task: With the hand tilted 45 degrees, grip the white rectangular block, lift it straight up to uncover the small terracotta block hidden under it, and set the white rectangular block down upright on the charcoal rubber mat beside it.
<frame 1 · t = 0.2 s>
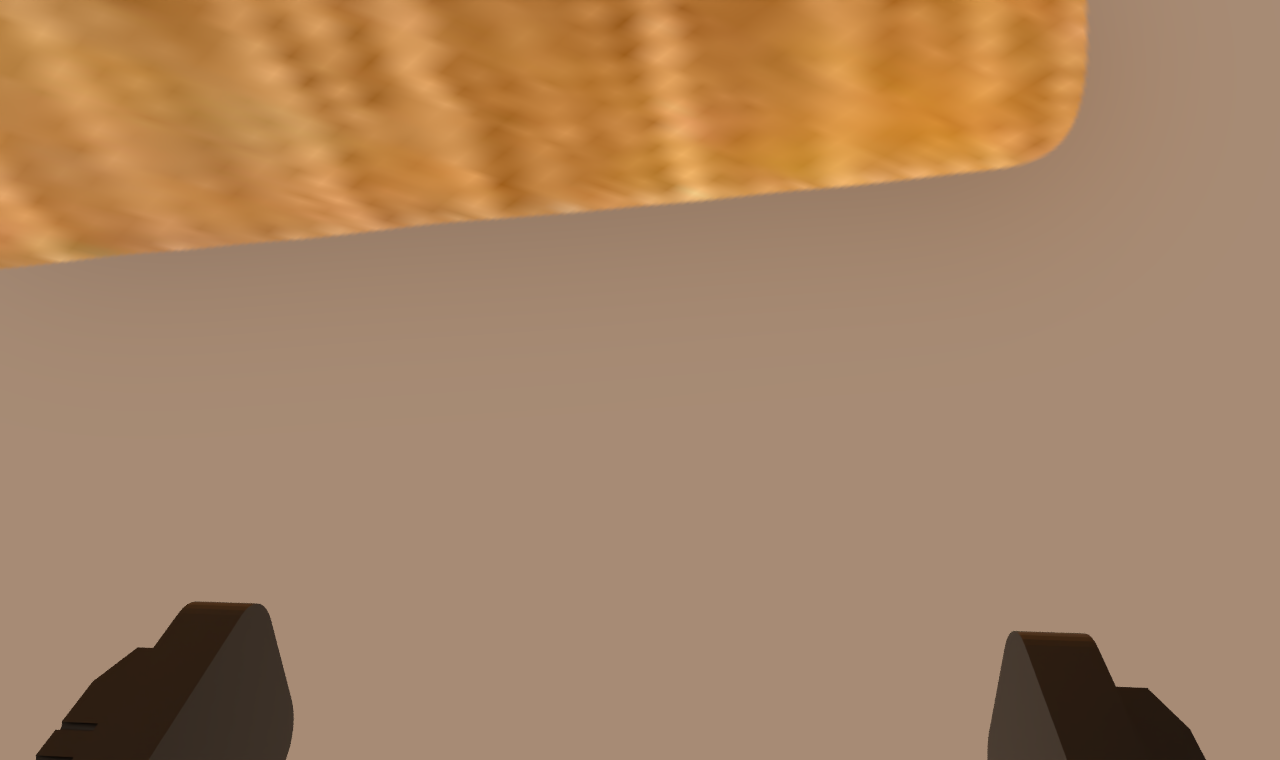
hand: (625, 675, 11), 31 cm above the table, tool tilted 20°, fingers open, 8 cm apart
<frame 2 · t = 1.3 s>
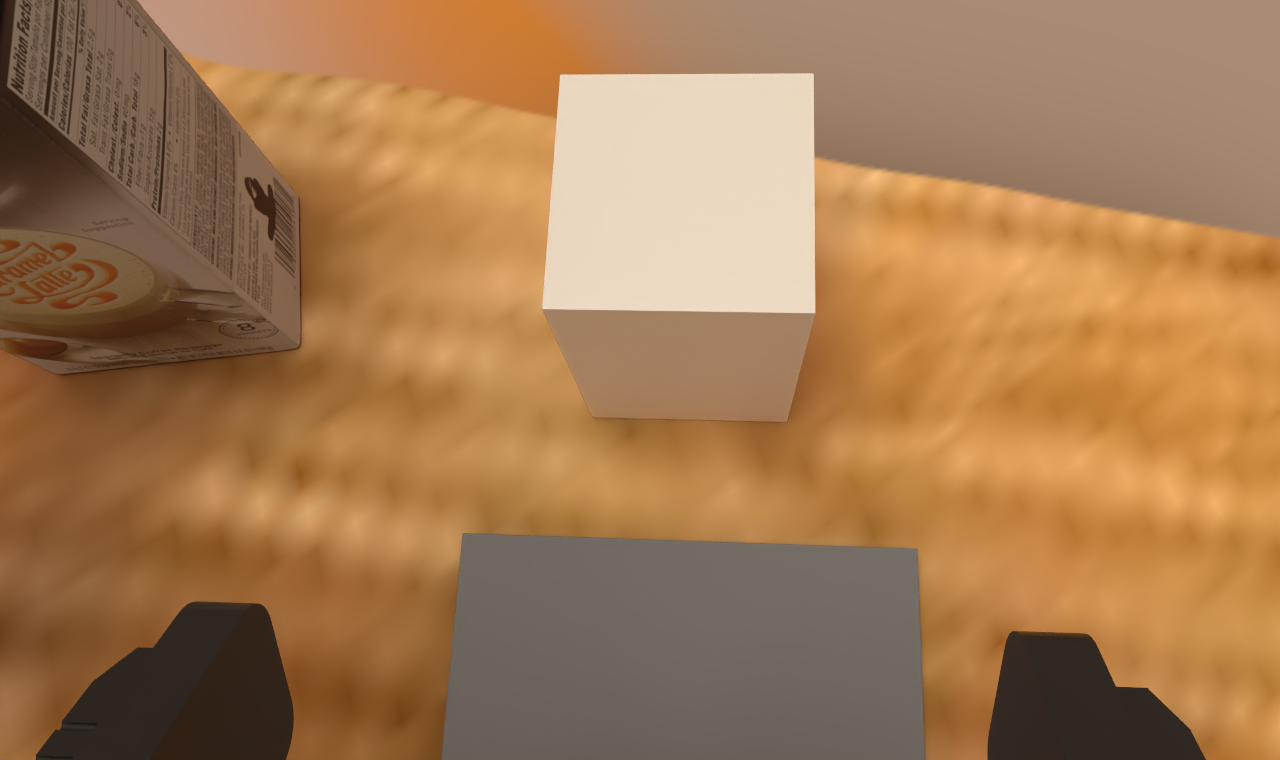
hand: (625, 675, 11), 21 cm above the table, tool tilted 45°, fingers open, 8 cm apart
coffee box: (184, 285, 36), on the table
white rectangular block: (691, 328, 34), on the table
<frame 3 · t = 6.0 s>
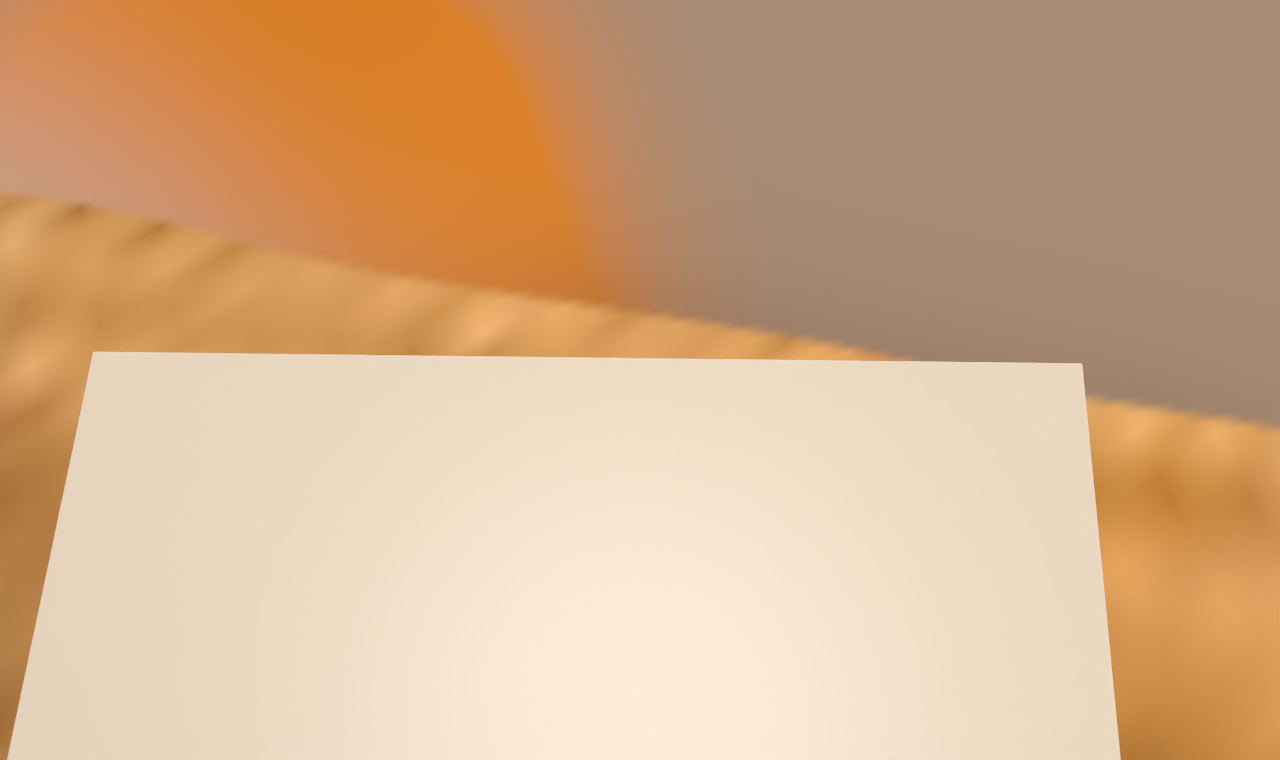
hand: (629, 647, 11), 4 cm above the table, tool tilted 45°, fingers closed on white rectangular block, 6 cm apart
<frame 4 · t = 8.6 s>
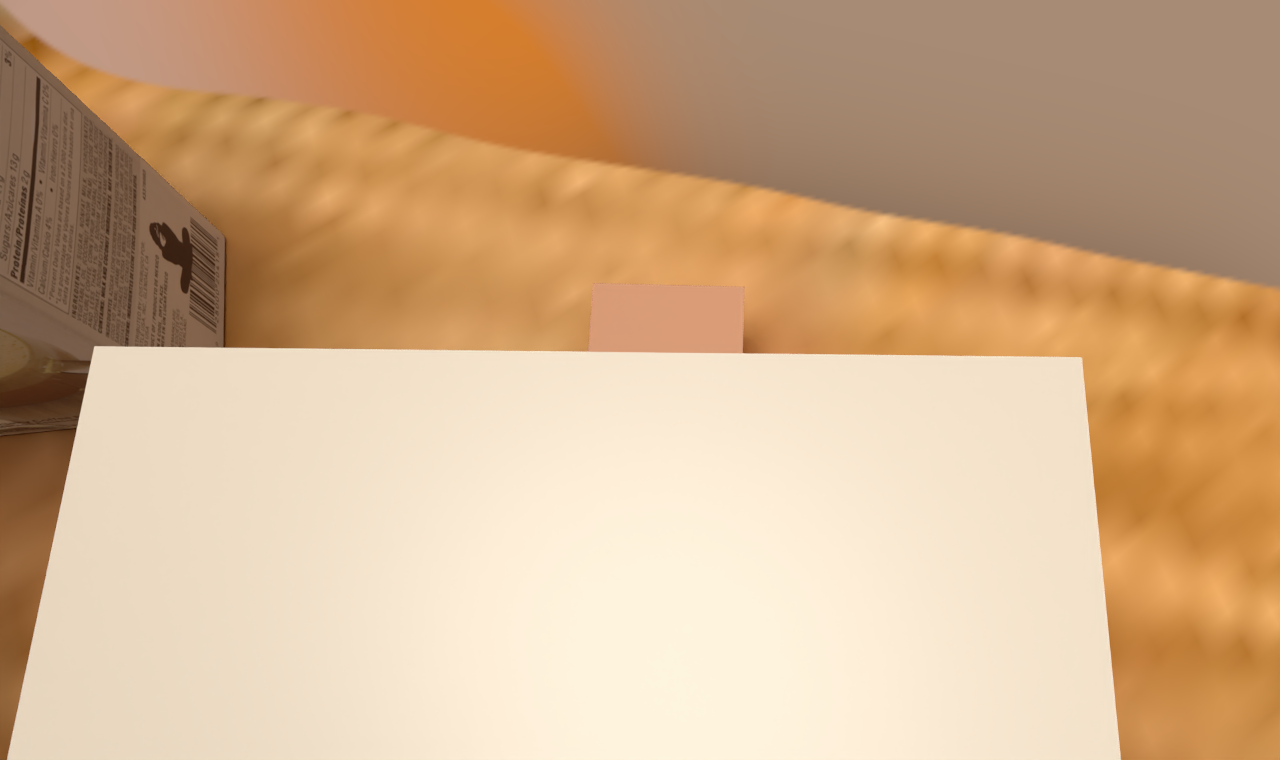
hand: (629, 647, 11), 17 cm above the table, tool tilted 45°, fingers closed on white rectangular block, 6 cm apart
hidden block: (670, 398, 30), on the table
coffee box: (93, 338, 32), on the table
when the fingers open (6 cm above the table, at t = 11.4 s): white rectangular block stays where it is, resting on mat.
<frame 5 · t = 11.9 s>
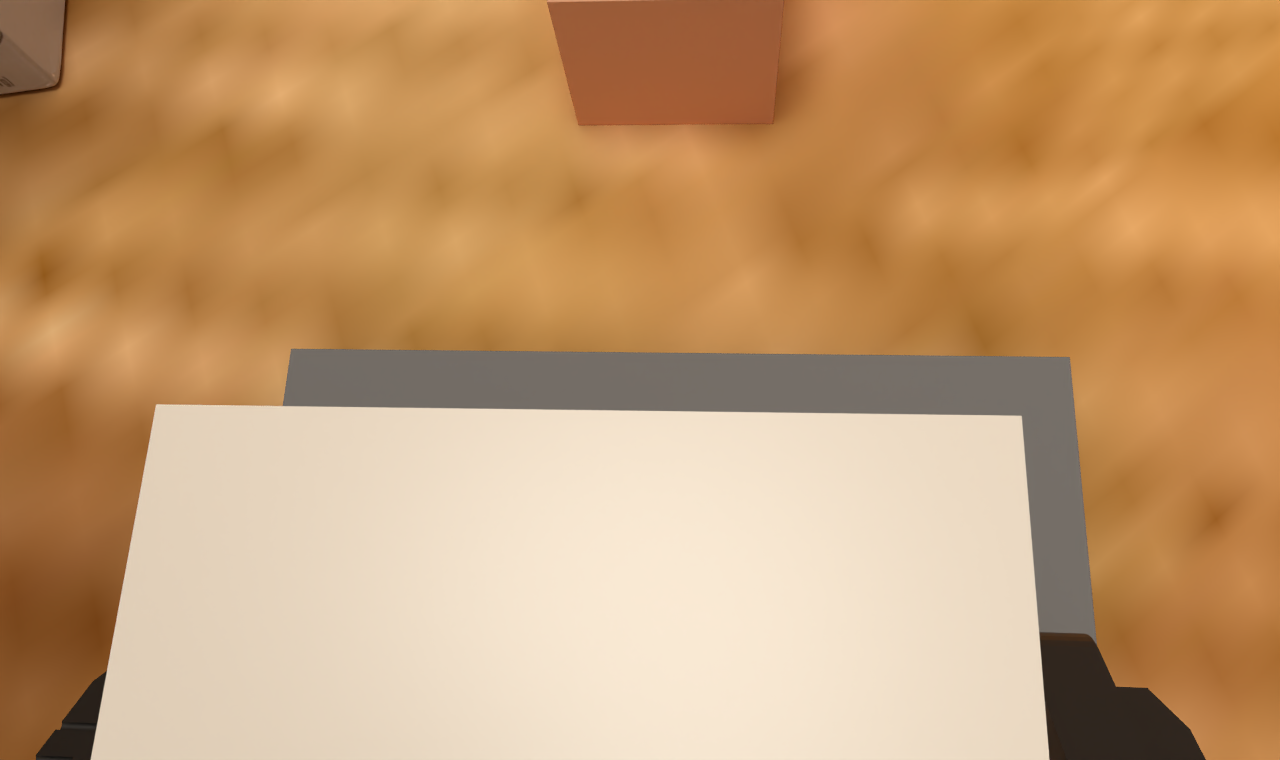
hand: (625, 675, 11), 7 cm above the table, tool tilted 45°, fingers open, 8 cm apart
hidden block: (677, 43, 21), on the table
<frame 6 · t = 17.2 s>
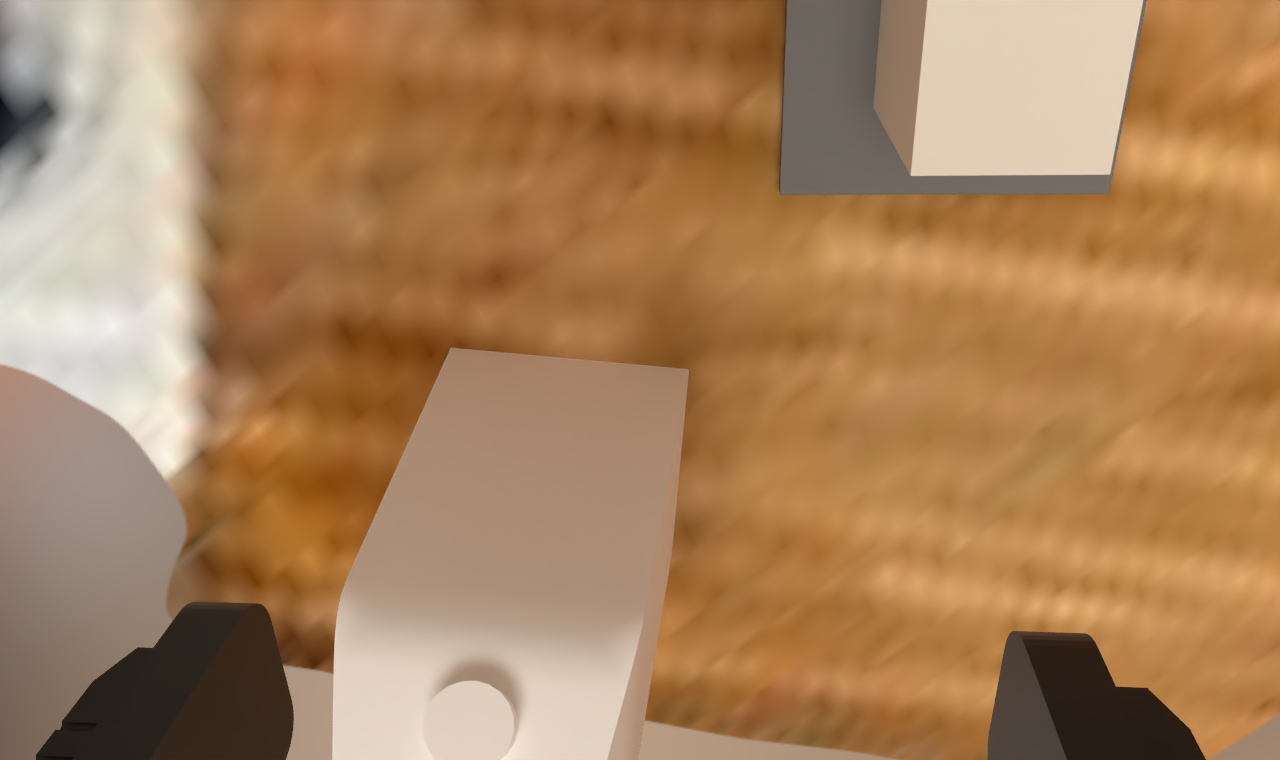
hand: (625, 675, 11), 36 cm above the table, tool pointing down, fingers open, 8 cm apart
white rectangular block: (960, 26, 40), point 1 cm above the table, touching mat
milk: (567, 453, 53), on the table
mat: (956, 21, 41), on the table
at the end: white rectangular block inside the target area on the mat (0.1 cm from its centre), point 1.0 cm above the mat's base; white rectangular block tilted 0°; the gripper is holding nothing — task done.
